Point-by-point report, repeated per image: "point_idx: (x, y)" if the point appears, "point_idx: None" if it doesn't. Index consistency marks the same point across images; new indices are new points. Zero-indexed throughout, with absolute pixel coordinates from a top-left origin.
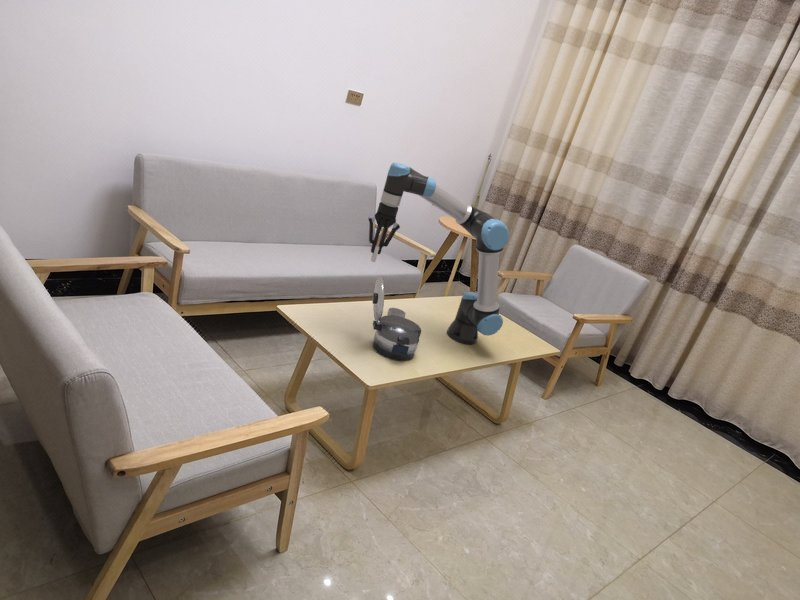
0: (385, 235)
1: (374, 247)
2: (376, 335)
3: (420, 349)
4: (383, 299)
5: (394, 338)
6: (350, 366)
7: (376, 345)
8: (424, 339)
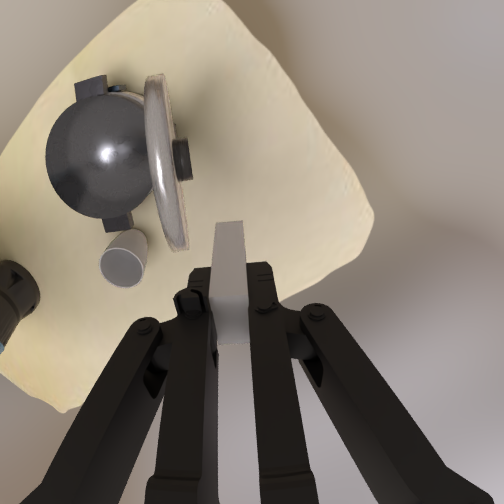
0: (166, 417)
1: (255, 292)
2: None
3: None
4: (148, 80)
5: (115, 95)
6: (229, 13)
7: None
8: (65, 238)
